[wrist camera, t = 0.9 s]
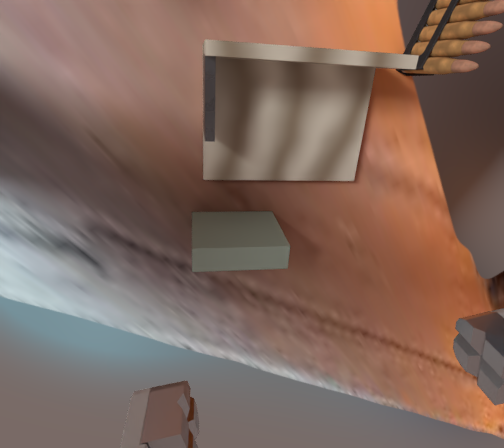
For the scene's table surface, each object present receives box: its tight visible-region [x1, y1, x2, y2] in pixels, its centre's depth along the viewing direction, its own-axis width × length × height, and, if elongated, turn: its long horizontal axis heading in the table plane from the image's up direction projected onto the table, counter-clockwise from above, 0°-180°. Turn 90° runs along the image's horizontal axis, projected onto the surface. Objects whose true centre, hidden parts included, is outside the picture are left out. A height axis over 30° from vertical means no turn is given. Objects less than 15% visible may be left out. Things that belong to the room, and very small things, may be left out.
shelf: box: [203, 40, 419, 181], centre depth 38 cm, size 20×15×10 cm
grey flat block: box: [192, 211, 290, 272], centre depth 43 cm, size 3×11×10 cm, turn 87°
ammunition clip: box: [396, 0, 504, 76], centre depth 35 cm, size 11×2×12 cm, turn 158°
